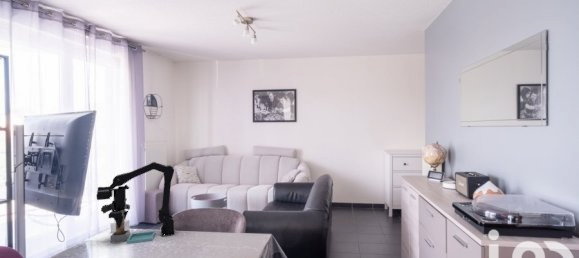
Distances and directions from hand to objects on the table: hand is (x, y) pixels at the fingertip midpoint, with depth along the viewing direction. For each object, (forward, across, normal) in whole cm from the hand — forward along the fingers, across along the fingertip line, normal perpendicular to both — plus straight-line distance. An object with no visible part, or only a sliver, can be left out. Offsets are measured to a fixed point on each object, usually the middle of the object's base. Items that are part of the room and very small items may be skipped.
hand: (120, 226), depth 156 cm
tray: (+8, +3, +11) cm, 14 cm away
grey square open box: (+8, 0, 0) cm, 8 cm away
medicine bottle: (+8, -16, -4) cm, 18 cm away
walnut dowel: (+6, 0, 0) cm, 6 cm away
